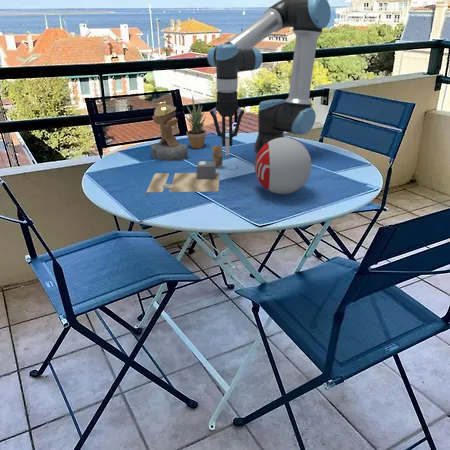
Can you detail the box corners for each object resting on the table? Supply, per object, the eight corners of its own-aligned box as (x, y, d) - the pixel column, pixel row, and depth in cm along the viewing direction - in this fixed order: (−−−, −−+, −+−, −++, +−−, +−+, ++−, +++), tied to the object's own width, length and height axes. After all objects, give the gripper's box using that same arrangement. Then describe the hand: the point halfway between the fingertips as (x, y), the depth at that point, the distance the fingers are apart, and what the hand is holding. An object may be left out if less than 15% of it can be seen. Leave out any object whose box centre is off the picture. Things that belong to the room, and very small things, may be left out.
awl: (222, 168, 188) (222, 145, 184) (222, 172, 184) (221, 148, 180) (213, 168, 188) (212, 145, 184) (212, 172, 184) (212, 148, 180)
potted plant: (189, 143, 223) (186, 92, 212) (208, 144, 222) (206, 92, 211) (185, 149, 214) (182, 96, 203) (204, 150, 213) (202, 96, 202)
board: (219, 176, 180) (219, 172, 179) (218, 195, 162) (218, 191, 161) (155, 176, 180) (154, 173, 180) (146, 196, 162) (146, 192, 162)
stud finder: (215, 173, 178) (215, 160, 176) (215, 178, 173) (215, 165, 171) (198, 173, 178) (197, 160, 176) (197, 179, 173) (196, 165, 171)
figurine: (189, 157, 203) (186, 101, 192) (171, 163, 196) (167, 105, 185) (169, 151, 212) (165, 97, 200) (151, 157, 204) (145, 101, 193)
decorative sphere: (253, 182, 173) (254, 131, 164) (305, 182, 172) (309, 130, 163) (255, 203, 155) (256, 146, 146) (313, 202, 154) (317, 146, 145)
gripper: (244, 88, 165) (244, 151, 175) (209, 89, 165) (210, 151, 175) (245, 92, 158) (244, 157, 168) (208, 92, 158) (209, 157, 168)
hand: (227, 154), depth 171 cm, fingers closed
